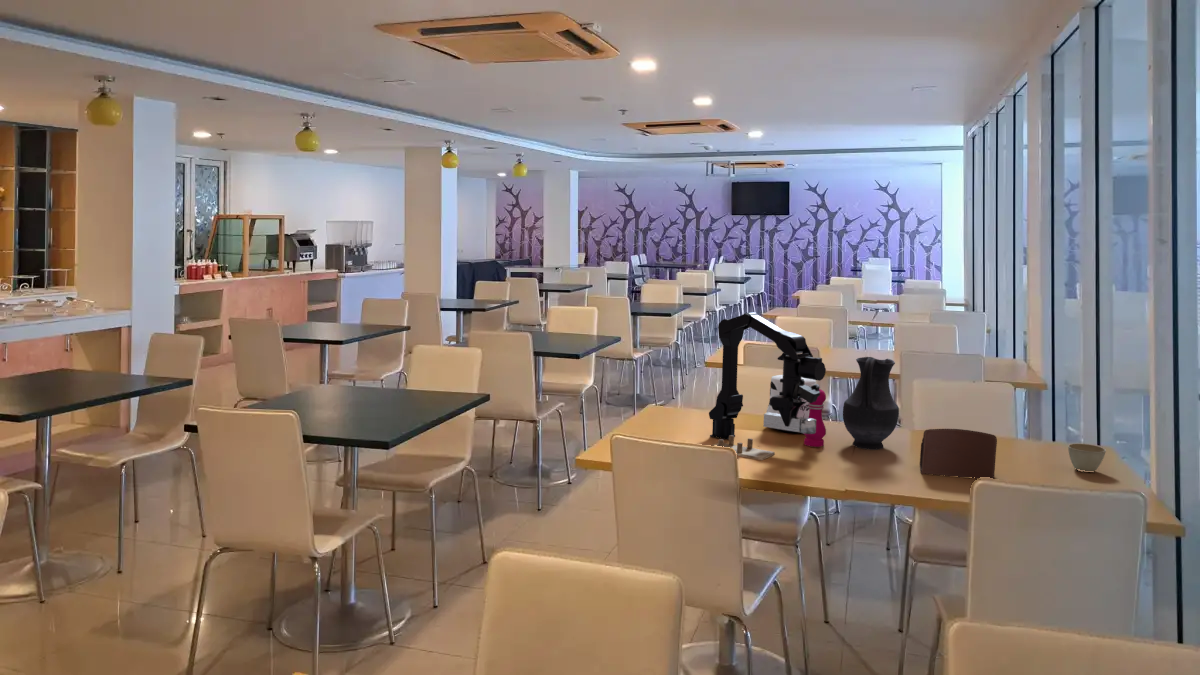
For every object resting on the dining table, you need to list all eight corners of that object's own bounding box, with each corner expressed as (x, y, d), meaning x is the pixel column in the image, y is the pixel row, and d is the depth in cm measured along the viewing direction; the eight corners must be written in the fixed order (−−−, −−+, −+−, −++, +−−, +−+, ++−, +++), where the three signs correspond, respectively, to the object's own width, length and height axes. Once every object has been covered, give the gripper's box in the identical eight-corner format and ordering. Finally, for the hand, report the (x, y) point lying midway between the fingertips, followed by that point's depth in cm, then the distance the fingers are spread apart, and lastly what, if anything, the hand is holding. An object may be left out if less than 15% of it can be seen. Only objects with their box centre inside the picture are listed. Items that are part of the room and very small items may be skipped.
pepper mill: (825, 448, 299) (829, 386, 296) (802, 446, 300) (805, 385, 298) (824, 442, 306) (828, 382, 303) (802, 441, 307) (805, 381, 305)
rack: (706, 450, 292) (706, 438, 292) (719, 444, 300) (720, 433, 299) (761, 460, 282) (762, 447, 281) (774, 454, 289) (775, 442, 288)
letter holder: (994, 481, 265) (998, 433, 263) (920, 474, 271) (923, 426, 269) (990, 472, 275) (994, 425, 273) (919, 465, 280) (922, 419, 279)
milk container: (821, 435, 316) (824, 383, 314) (770, 434, 316) (772, 382, 314) (810, 424, 333) (813, 374, 331) (761, 423, 333) (764, 373, 331)
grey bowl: (1059, 466, 283) (1061, 443, 282) (1090, 466, 284) (1092, 443, 283) (1078, 475, 273) (1080, 451, 272) (1111, 475, 274) (1113, 451, 273)
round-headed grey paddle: (762, 426, 293) (763, 414, 292) (769, 424, 297) (769, 411, 296) (811, 434, 283) (812, 421, 283) (818, 432, 287) (818, 419, 287)
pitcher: (899, 444, 307) (905, 353, 303) (890, 458, 288) (896, 362, 284) (846, 437, 314) (851, 349, 310) (833, 450, 295) (839, 357, 292)
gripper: (804, 383, 276) (801, 434, 278) (828, 375, 291) (825, 424, 293) (770, 378, 282) (767, 429, 284) (794, 371, 297) (792, 419, 299)
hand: (789, 425), depth 290 cm, fingers closed on round-headed grey paddle, 3 cm apart
